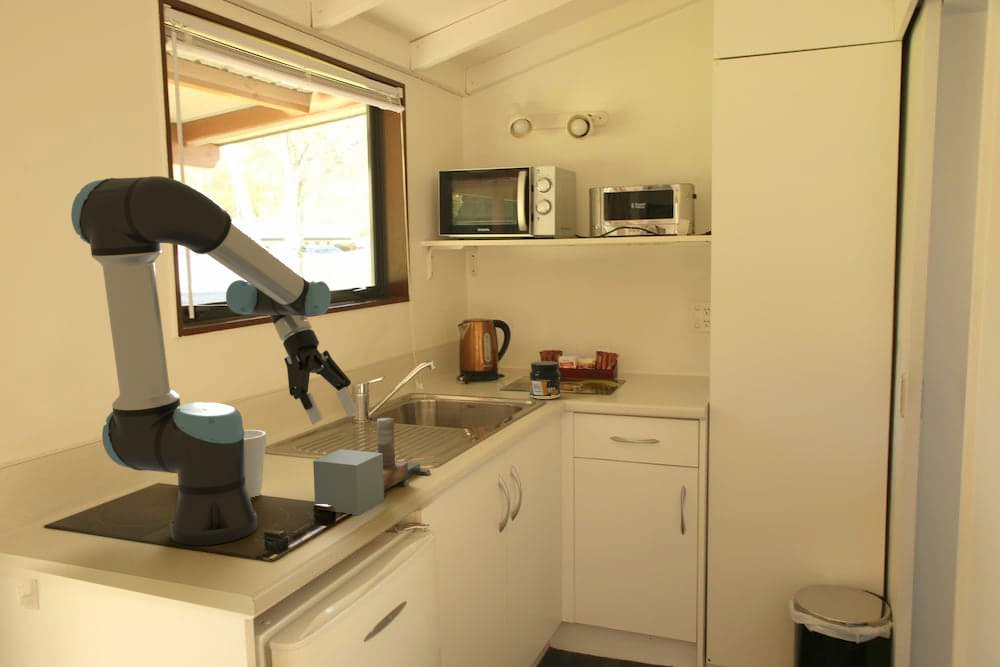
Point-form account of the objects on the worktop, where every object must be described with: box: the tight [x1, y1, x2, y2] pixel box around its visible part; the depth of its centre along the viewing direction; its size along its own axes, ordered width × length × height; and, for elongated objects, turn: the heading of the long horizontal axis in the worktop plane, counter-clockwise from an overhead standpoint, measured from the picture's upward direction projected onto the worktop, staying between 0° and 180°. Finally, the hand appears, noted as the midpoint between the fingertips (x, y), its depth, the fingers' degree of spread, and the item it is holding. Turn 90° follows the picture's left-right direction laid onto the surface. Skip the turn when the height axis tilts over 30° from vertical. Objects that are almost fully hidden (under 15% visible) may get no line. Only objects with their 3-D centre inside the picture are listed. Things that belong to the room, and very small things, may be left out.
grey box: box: [312, 448, 385, 516], centre depth 164 cm, size 10×10×10 cm
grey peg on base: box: [376, 417, 408, 490], centre depth 174 cm, size 12×7×14 cm, turn 157°
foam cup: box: [244, 429, 267, 498], centre depth 172 cm, size 10×9×13 cm
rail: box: [384, 462, 431, 499], centre depth 179 cm, size 22×8×2 cm, turn 157°
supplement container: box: [528, 360, 561, 396], centre depth 277 cm, size 10×10×12 cm
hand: (336, 418), depth 184 cm, fingers open, 13 cm apart
